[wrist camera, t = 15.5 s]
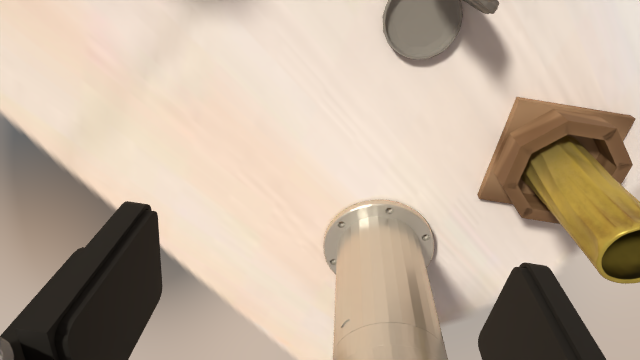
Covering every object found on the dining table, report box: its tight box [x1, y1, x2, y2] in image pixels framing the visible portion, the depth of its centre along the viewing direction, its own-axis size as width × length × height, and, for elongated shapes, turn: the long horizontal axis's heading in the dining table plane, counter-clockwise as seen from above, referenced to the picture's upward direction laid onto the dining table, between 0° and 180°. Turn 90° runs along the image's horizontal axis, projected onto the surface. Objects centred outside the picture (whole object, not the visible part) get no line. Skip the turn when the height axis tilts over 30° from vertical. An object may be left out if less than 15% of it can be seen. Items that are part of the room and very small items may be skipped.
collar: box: [477, 97, 635, 224], centre depth 40 cm, size 11×11×4 cm
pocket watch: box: [383, 0, 499, 60], centre depth 31 cm, size 8×8×10 cm
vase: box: [521, 135, 640, 283], centre depth 35 cm, size 6×6×14 cm
